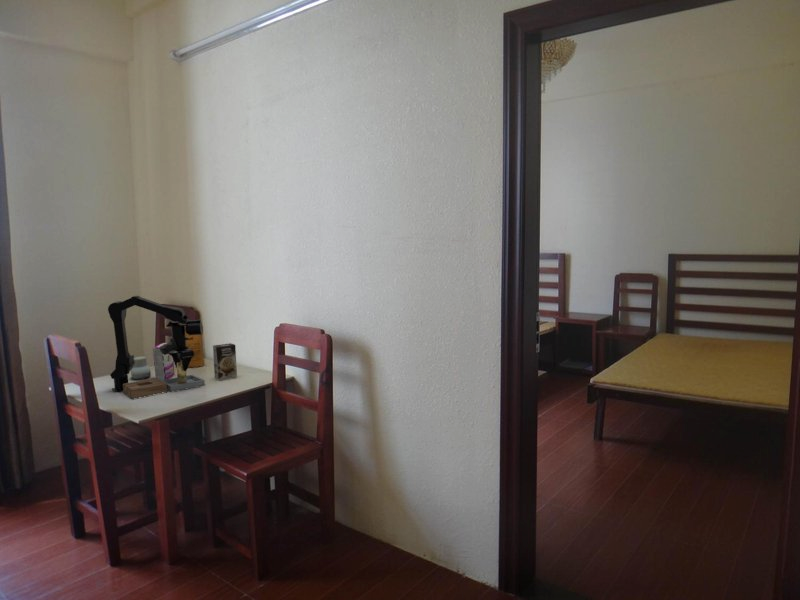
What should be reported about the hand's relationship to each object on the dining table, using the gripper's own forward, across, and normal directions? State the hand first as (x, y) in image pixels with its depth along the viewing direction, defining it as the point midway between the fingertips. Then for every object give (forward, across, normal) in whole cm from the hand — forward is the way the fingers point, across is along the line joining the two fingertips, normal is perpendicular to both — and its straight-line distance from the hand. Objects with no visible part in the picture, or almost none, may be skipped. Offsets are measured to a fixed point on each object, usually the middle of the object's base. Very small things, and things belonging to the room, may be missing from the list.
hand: (181, 369), depth 251 cm
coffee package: (+8, -35, +18) cm, 40 cm away
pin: (+7, 0, 0) cm, 7 cm away
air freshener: (+8, -30, -9) cm, 32 cm away
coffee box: (+8, +2, +20) cm, 22 cm away
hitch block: (+8, -1, -16) cm, 18 cm away
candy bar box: (+8, -20, -1) cm, 21 cm away
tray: (+8, 0, 0) cm, 8 cm away
